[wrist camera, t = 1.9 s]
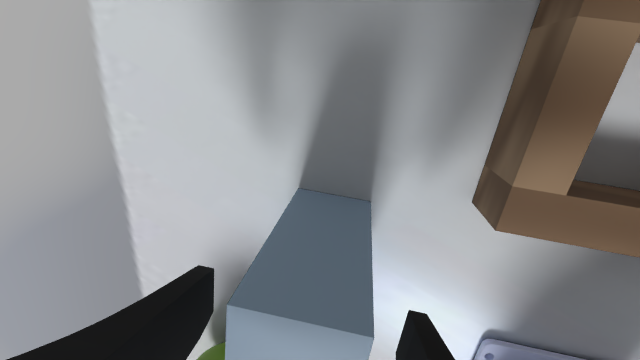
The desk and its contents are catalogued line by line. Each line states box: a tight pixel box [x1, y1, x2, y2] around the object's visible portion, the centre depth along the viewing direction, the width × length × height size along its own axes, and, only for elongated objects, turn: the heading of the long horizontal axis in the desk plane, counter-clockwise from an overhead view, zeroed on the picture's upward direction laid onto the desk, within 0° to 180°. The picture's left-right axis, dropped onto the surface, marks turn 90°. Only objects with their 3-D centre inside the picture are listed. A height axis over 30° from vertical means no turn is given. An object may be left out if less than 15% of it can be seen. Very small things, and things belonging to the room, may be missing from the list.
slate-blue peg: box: [225, 188, 374, 360], centre depth 13 cm, size 4×4×9 cm
